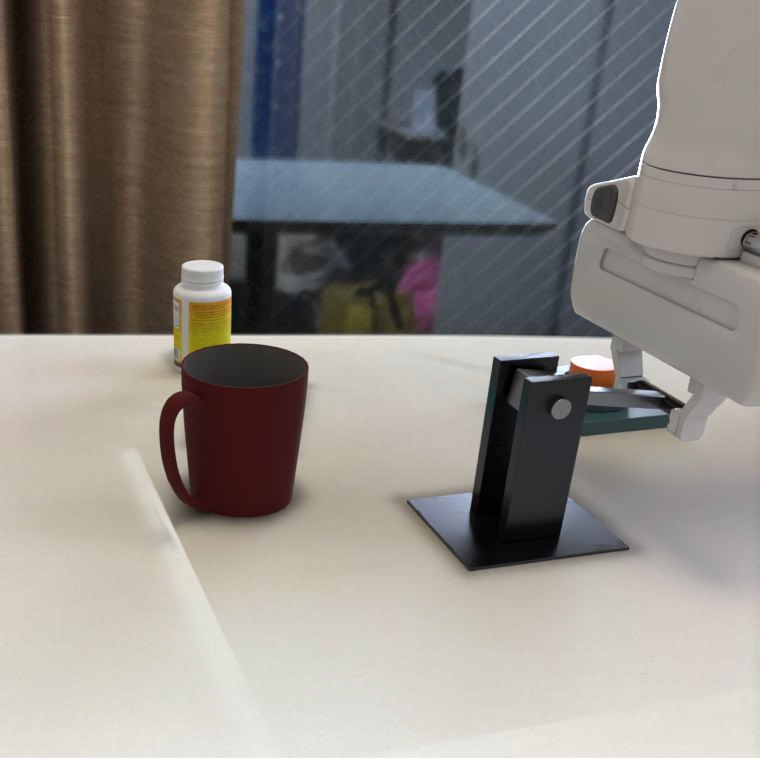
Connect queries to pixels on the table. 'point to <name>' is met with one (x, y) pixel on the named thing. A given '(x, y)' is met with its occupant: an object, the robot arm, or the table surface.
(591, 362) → the button
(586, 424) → the button housing
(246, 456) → the mug
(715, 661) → the table surface
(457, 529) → the switch bracket
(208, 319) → the supplement bottle
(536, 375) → the switch lever
